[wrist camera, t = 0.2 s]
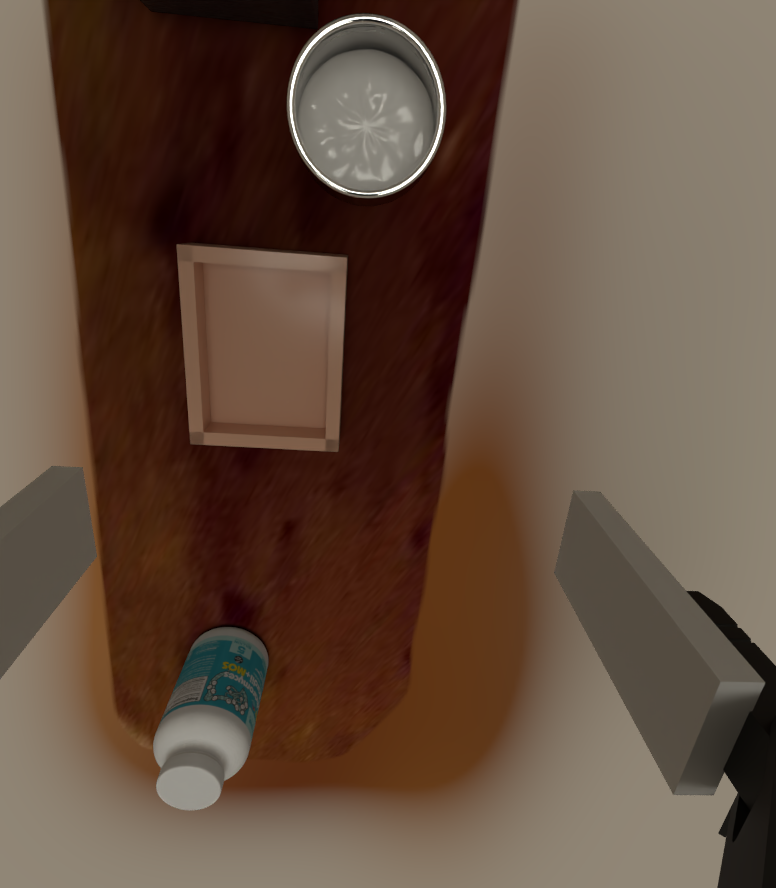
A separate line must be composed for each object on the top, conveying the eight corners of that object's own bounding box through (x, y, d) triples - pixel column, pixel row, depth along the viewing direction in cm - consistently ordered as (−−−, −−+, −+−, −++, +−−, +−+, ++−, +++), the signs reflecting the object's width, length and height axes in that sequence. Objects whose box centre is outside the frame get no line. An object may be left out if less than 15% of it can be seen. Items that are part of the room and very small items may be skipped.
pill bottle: (284, 665, 52) (259, 803, 40) (219, 692, 53) (175, 835, 41) (243, 610, 50) (203, 741, 37) (175, 640, 51) (114, 776, 38)
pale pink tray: (190, 242, 37) (176, 244, 35) (348, 254, 38) (347, 257, 35) (201, 429, 43) (190, 444, 40) (339, 437, 43) (338, 451, 41)
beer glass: (411, 215, 37) (439, 212, 23) (310, 204, 37) (279, 194, 23) (423, 99, 35) (463, 18, 21) (315, 85, 34) (283, -7, 20)
